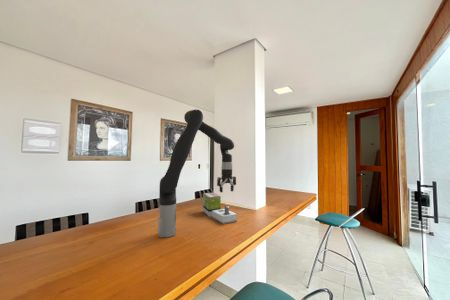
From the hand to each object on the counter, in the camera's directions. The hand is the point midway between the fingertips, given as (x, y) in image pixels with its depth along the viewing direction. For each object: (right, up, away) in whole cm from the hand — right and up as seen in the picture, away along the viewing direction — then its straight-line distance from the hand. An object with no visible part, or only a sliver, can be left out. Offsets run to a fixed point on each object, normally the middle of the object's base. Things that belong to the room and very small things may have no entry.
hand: (226, 191), depth 129 cm
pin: (0, -19, -1) cm, 19 cm away
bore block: (-2, -20, +3) cm, 20 cm away
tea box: (-12, -21, +17) cm, 30 cm away
